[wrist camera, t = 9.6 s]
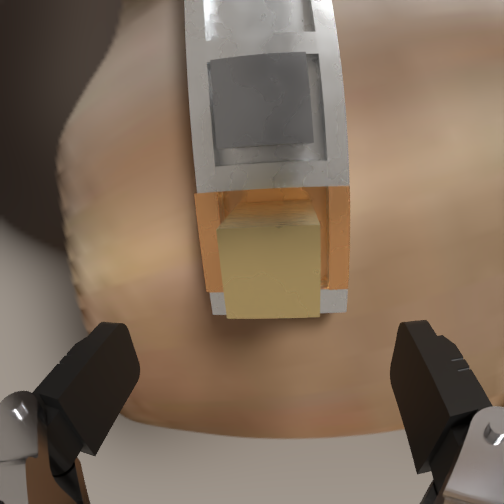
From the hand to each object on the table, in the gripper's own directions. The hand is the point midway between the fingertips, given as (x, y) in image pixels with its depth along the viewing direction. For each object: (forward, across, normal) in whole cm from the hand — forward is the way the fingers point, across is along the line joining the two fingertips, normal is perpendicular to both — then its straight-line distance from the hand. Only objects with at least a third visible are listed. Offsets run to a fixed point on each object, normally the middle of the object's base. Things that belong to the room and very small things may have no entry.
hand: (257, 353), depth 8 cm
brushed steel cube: (+13, 0, -8) cm, 15 cm away
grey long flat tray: (+14, 0, -8) cm, 16 cm away
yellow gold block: (+12, 0, 0) cm, 12 cm away
